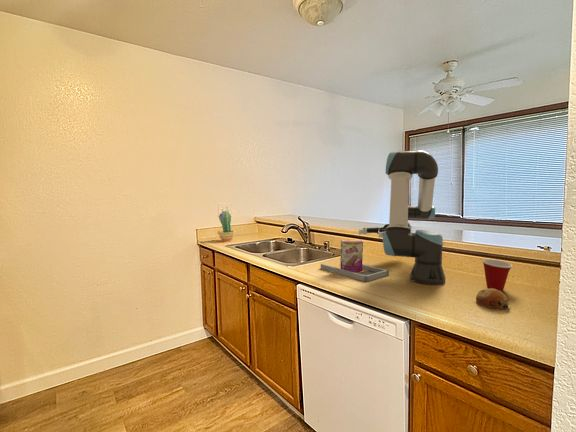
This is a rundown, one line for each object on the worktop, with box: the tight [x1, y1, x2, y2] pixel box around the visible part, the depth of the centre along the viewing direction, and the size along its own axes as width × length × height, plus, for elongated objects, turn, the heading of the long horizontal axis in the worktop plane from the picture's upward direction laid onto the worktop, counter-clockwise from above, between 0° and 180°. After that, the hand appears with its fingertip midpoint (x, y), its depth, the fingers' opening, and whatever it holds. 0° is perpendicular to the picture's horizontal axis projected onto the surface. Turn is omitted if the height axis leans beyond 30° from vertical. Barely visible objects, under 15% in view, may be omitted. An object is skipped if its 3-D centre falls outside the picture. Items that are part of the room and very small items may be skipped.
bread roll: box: [475, 288, 510, 311], centre depth 116 cm, size 10×10×8 cm
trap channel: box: [320, 263, 390, 283], centre depth 162 cm, size 31×18×2 cm, turn 38°
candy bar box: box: [339, 239, 364, 273], centre depth 162 cm, size 11×5×16 cm, turn 84°
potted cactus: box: [217, 210, 237, 243], centre depth 258 cm, size 15×15×25 cm
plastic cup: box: [482, 258, 513, 292], centre depth 133 cm, size 11×11×12 cm
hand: (368, 233), depth 170 cm, fingers open, 13 cm apart
